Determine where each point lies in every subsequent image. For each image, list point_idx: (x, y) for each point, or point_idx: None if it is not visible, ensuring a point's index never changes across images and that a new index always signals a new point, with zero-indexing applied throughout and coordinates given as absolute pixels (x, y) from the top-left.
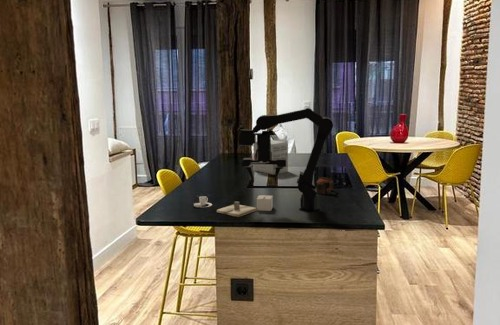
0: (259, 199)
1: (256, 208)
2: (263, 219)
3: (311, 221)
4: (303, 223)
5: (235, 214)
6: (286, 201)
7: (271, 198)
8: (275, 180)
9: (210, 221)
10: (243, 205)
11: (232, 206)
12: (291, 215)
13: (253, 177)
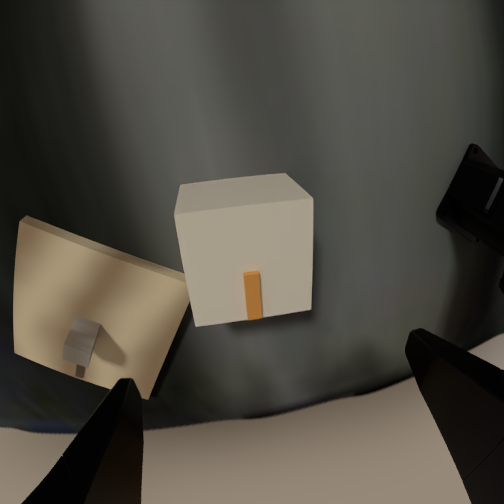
0: (217, 320)
1: None
2: (271, 390)
3: None
4: None
5: None
6: (357, 13)
7: (311, 281)
8: (422, 376)
9: None
10: (83, 248)
11: (36, 284)
12: (392, 311)
13: (140, 465)
